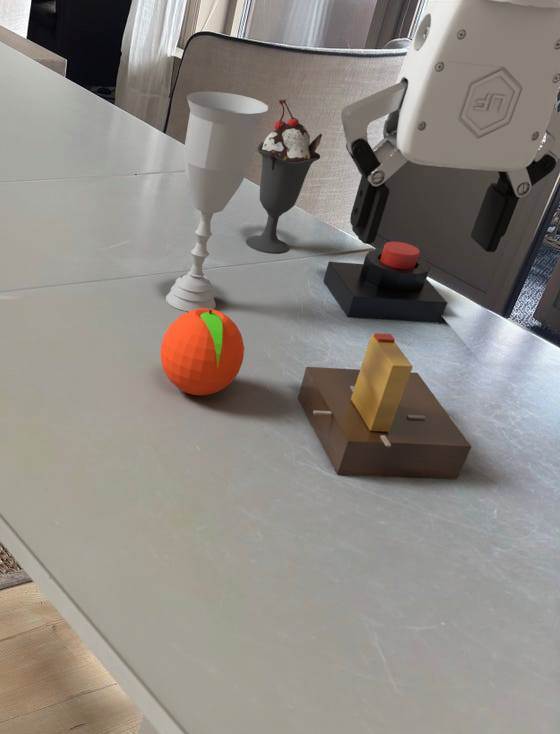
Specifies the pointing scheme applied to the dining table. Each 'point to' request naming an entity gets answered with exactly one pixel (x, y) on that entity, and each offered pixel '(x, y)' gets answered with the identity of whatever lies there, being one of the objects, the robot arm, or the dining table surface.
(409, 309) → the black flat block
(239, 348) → the clementine
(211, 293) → the chalice
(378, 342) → the thumbturn
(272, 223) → the sundae
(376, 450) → the plate
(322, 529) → the dining table surface
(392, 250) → the bell button
